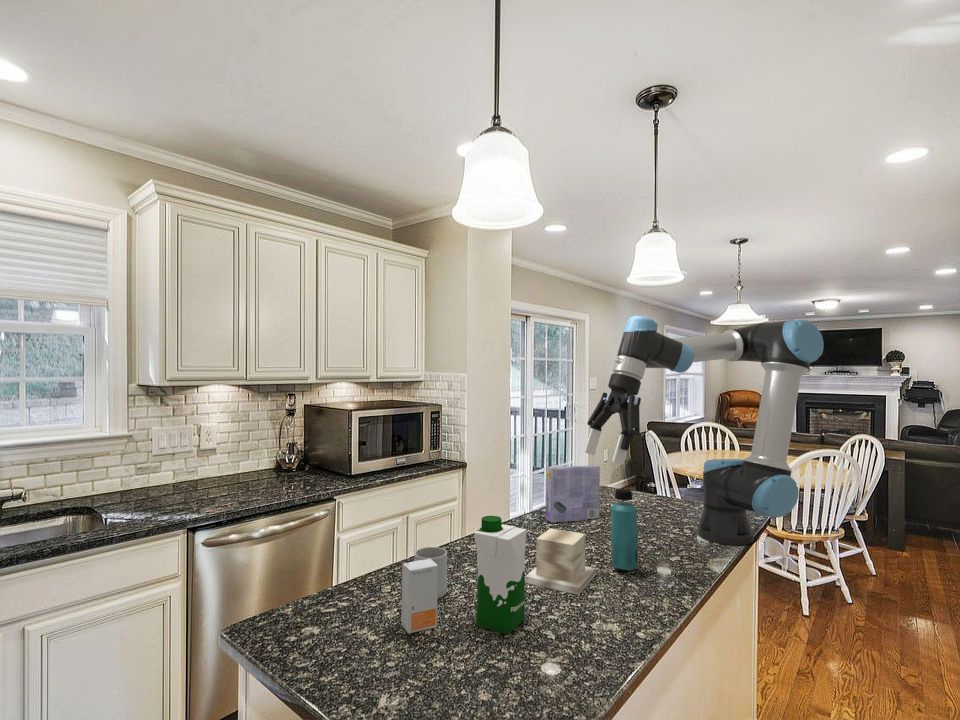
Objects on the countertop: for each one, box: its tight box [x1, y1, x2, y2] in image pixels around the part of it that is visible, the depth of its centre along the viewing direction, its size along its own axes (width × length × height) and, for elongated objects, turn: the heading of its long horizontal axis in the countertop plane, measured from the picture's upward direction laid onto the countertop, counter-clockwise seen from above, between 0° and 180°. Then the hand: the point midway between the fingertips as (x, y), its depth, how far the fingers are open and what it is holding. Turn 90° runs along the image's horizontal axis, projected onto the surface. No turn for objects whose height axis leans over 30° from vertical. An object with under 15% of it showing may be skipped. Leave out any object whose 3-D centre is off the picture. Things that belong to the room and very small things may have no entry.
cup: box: [414, 546, 448, 599], centre depth 113 cm, size 7×10×9 cm
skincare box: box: [400, 559, 439, 635], centre depth 99 cm, size 6×4×12 cm
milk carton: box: [473, 515, 527, 636], centre depth 101 cm, size 9×9×20 cm
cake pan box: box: [545, 464, 601, 524], centre depth 170 cm, size 19×5×18 cm, turn 108°
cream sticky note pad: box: [525, 527, 597, 596], centre depth 122 cm, size 13×13×10 cm
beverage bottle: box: [610, 488, 639, 571], centre depth 127 cm, size 6×7×20 cm
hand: (602, 458), depth 126 cm, fingers open, 13 cm apart
